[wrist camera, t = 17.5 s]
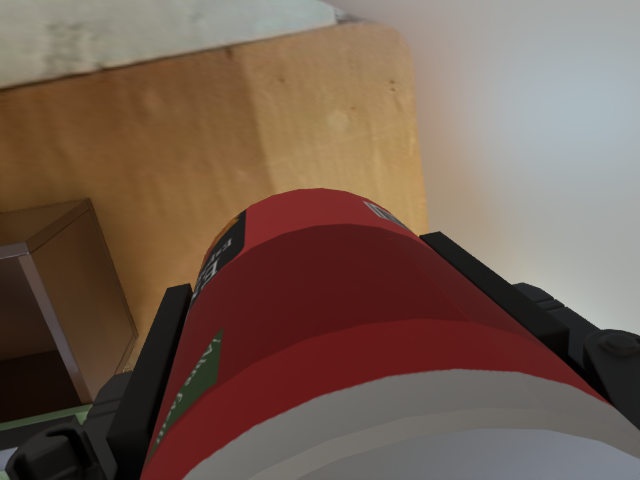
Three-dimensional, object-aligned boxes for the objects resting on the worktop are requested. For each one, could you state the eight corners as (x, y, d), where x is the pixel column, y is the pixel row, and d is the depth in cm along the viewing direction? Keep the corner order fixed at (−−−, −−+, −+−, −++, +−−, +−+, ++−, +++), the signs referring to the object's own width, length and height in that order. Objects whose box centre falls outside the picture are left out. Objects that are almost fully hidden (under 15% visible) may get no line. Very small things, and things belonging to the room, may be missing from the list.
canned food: (187, 186, 14) (6, 466, 4) (423, 177, 15) (805, 367, 5) (209, 384, 16) (143, 881, 6) (410, 363, 17) (639, 752, 7)
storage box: (-85, 228, 34) (-224, 287, 24) (89, 197, 35) (24, 241, 25) (-13, 367, 39) (-104, 464, 29) (138, 336, 40) (100, 419, 30)
